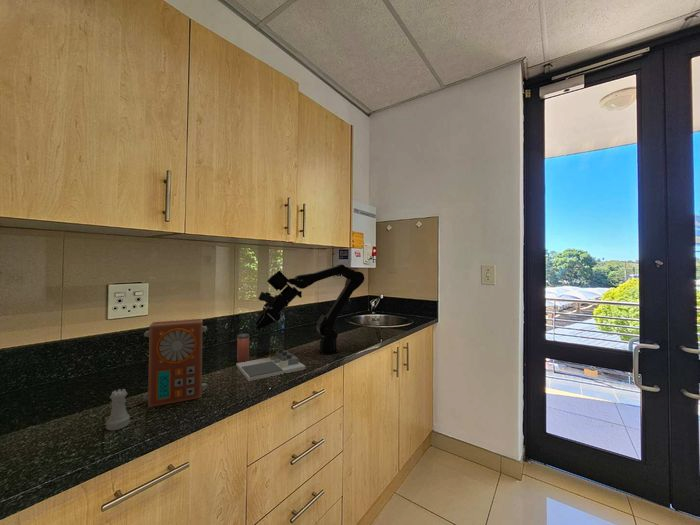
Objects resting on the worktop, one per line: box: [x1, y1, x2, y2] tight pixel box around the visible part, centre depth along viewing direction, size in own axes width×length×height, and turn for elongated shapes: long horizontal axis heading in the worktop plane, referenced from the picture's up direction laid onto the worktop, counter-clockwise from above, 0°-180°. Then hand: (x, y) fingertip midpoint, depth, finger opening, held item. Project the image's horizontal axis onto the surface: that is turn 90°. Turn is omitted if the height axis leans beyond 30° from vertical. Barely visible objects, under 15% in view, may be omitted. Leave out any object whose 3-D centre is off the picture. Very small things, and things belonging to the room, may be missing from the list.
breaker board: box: [235, 348, 306, 382], centre depth 106 cm, size 20×17×5 cm
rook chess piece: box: [105, 388, 131, 432], centre depth 66 cm, size 4×4×8 cm
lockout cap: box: [236, 333, 250, 363], centre depth 115 cm, size 4×4×10 cm
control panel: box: [142, 318, 208, 408], centre depth 81 cm, size 21×7×15 cm
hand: (256, 326), depth 117 cm, fingers open, 9 cm apart
